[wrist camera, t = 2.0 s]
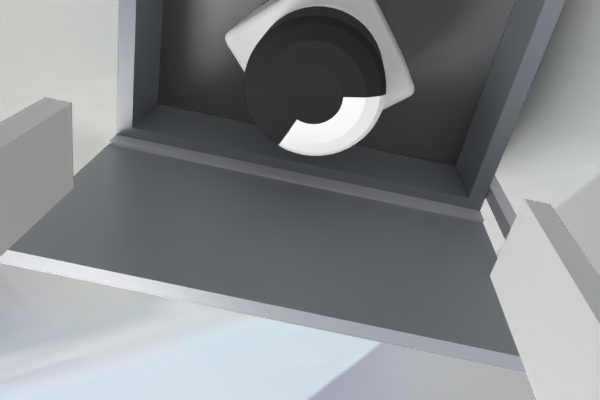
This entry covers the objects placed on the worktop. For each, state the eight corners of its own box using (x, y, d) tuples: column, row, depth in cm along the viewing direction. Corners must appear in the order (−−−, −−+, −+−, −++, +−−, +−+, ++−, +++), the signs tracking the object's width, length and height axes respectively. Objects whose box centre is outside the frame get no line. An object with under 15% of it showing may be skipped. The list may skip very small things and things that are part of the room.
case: (154, -143, 31) (-57, -207, 15) (571, -54, 31) (795, -26, 15) (143, 125, 39) (-3, 265, 23) (473, 194, 39) (553, 381, 23)
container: (246, 13, 35) (193, 60, 23) (352, -52, 32) (350, -35, 21) (305, 113, 37) (283, 198, 26) (405, 60, 35) (430, 129, 24)
